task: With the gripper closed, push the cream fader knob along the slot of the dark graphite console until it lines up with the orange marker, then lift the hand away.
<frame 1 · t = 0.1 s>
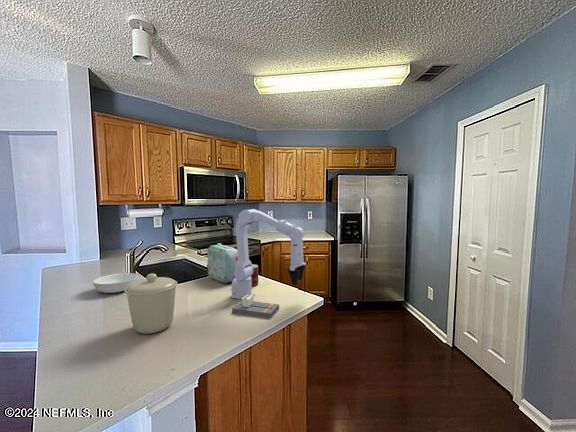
hand: (297, 282, 128), 10 cm above the counter, tool pointing down, fingers open, 7 cm apart
lunch box: (222, 279, 167), on the counter
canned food: (251, 285, 156), on the counter
canister: (153, 328, 105), on the counter
serving bowl: (117, 290, 149), on the counter
fader console: (256, 310, 120), on the counter
fader knob: (247, 300, 121), point 4 cm above the counter, slide at 0.0 cm
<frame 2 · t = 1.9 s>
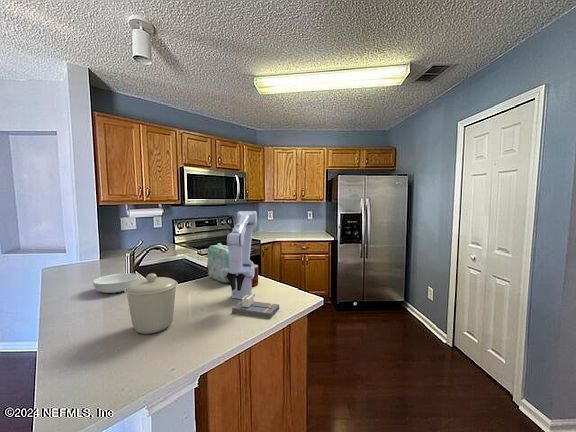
hand: (236, 289, 122), 8 cm above the counter, tool pointing down, fingers closed
nothing on the counter moved.
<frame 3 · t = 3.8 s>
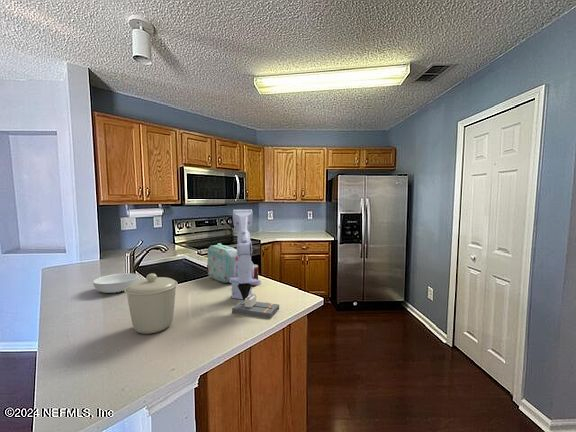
hand: (245, 299, 121), 4 cm above the counter, tool pointing down, fingers closed
fader knob: (250, 300, 120), point 4 cm above the counter, slide at 1.4 cm, touching gripper
everything else where it was.
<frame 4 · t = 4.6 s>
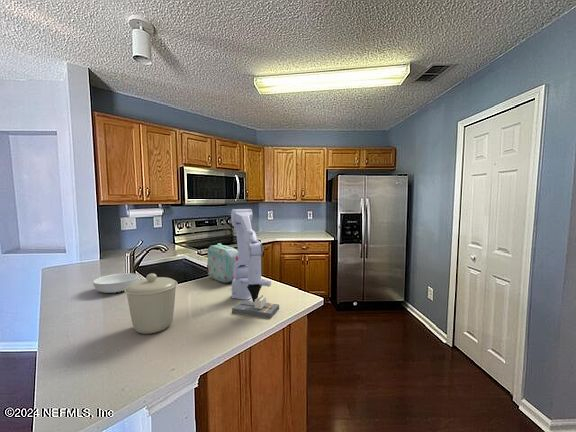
hand: (255, 300, 120), 4 cm above the counter, tool pointing down, fingers closed
fader knob: (260, 301, 119), point 4 cm above the counter, slide at 6.1 cm, touching gripper
everything else where it was.
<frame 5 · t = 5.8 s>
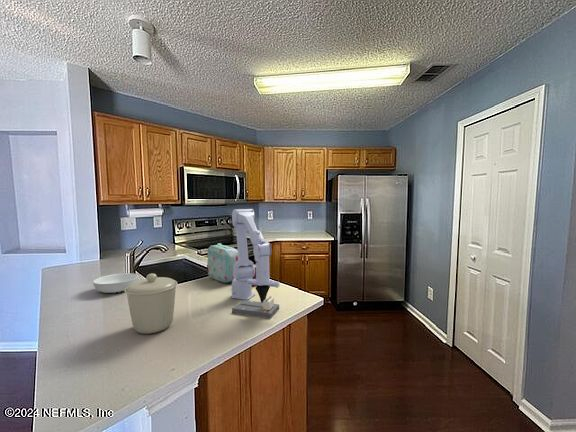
hand: (263, 301, 118), 4 cm above the counter, tool pointing down, fingers closed
fader knob: (268, 302, 118), point 4 cm above the counter, slide at 10.0 cm, touching gripper
everything else where it was.
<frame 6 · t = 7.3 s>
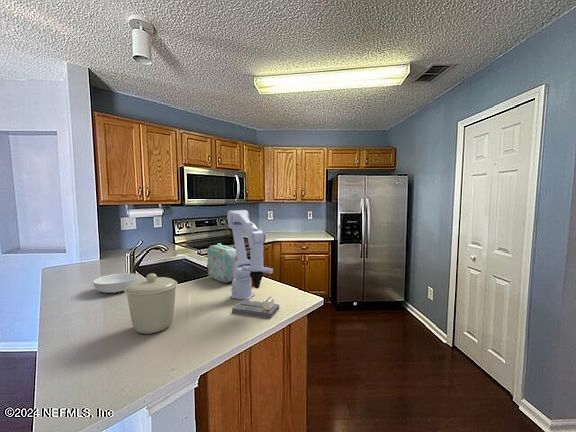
hand: (257, 287, 122), 9 cm above the counter, tool pointing down, fingers closed
fader knob: (268, 302, 118), point 4 cm above the counter, slide at 10.0 cm
everything else where it was.
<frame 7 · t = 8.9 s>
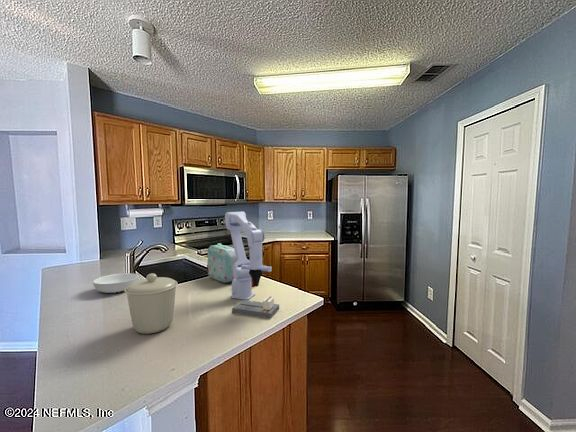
hand: (256, 285, 125), 9 cm above the counter, tool pointing down, fingers closed
nothing on the counter moved.
at the end: fader knob slide at 10.0 cm; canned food moved 0.2 cm from its start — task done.
